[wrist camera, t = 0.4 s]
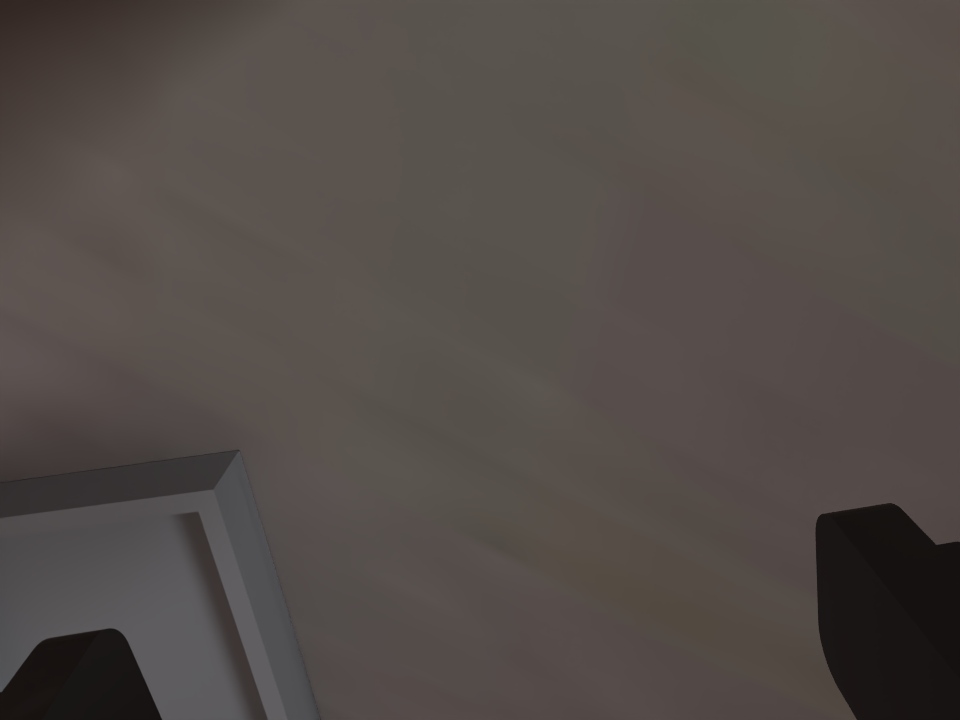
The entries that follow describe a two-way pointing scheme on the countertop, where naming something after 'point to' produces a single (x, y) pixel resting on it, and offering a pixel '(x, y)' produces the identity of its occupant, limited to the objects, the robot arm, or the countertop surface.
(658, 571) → the countertop surface
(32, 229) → the countertop surface
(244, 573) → the holding tray
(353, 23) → the countertop surface
